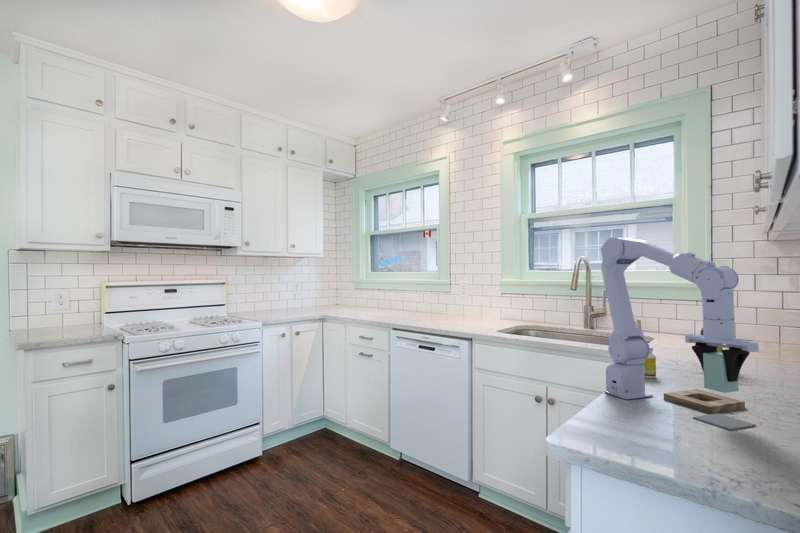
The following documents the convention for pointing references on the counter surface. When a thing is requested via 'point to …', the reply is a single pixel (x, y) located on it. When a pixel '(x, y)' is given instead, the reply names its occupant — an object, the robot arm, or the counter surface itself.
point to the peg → (717, 373)
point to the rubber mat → (724, 421)
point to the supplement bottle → (650, 365)
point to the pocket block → (712, 406)
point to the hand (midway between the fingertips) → (720, 378)
